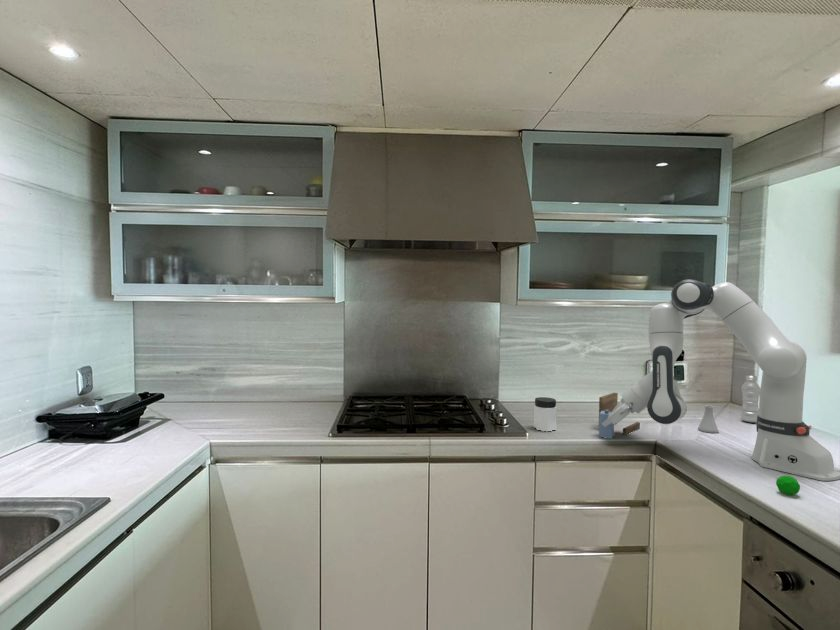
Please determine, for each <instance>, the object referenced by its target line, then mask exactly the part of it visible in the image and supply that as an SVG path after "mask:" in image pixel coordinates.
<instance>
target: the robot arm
mask: <svg viewBox="0 0 840 630" xmlns="http://www.w3.org/2000/svg"><path fill="white" fill-rule="evenodd" d="M670 296H671V299H670V300H669V301H667V302H664V303H663V302H662V303H658V304H656V305H654V306H653V307H651V309H650V312H649V317H648V343H649V350H650V354H651V362H652V370H651V371H650V372H648V373H647V374H645V375H644V376H643V377H641V378H640V379H639V381H638V382H637V383H636V384H634V385H631V386H629V388H627V389H626V390H625V391H623V392H622V393H621V398H620V400H619V402H617V405H616V406H615V408H614V409H613V410H612V412H611V413H610V414H609V416H608V418H607V419H606V420H605V421H604V422H603V423H602V425H603V426H604V427H606V426H607V425H609V424H611V423H613V424H614V426H616V425H617V424H619V422H621V421H622V420H624V418H626V417H627V416H628V415H630V413H631V414H634V413H637V414H640V413H642V412H643V411H645V409H647V413H648V415H649V417H650V418H652V420H653V421H655V422H656V423H658V424H662V425H671V424H674V423H675V422H677V421H678V420H681V419H682V418H684V417H685V415H686V413H687V408H688V407H687V404H686V402H685V400H684V398H683V397H682V394H681V391H680V389H679V384H678V379H677V378H676V377H675V376H674V369H675V368H674V367H675V364H676V361H677V359H678V358H679V357H680V356H681V354H682V352H683V347H684V327H683V326H684V325H683V323H684V319H687V318H690V317H693V316H697V315H699V314H702V312H704V311H705V310H709V311H711V312H712V313H714V314H715V315H716V316H717V317H718V318H719V319H720V320H721V321H722V323H723V324H724V325H725V326H726V327H727V328H728V330H730V332H731V333H732V334H733V335H734V336H735V337H736V338H737V339H738V341H739V342H740V343H741V344H742V346H743V347H744V349H745V350H746V351H747V352H748V355H750V357H751V358H752V360H753V361H754V362H755V363H756V364H757V366H758V367H759V368H760V370H761V371H762V374H761V382H760V395H759V401H758V407H759V415H758V416H757V422H756V424H755V427H756V440H755V443H754V448H753V450H752V453H751V456H750V458H751V459H752V460H753V461H755V462H756V463H758V465H759V466H761V467H763V468H765V469H772V470H775V471H780V472H782V473H783V472H784V473H788V474H792V475H795V476H800V477H804V478H805V477H806V478H810V479H813V480H818V481H822V482H823V481H824V482H828V481H829V482H830V481H836V480H840V468H837V467H835V463H834V459H833V455H832V452H831V451H830V450H829V449H827V448H826V447H825V446H823V445H822V444H821V443H819V442H818V441H817V440H816V439H815V438H813V437H812V436H811V435H810V430H812V427H813V426H812V425H810V424H809V425H807V424H806V423H805V422H804V421H803V414H804V413H803V412H804V411H803V410H804V409H803V408H804V396H805V395H804V394H805V383H806V382H805V381H806V375H807V374H806V372H807V360H808V359H807V353H806V351H805V349H803V347H802V346H800V345H799V344H797V343H796V342H793V341H790V340H789V339H788V338H787V336H785V335H784V333H783V332H782V331H781V330H780V328H779V327H778V326H777V325H776V324H775V322H774V321H773V320H772V319H771V317H770V316H768V314H767V313H766V312H764V310H763V309H762V308H761V307H760V306H759V305H758V304H757V303H756V302H755V301H754V300H753V299H752V298H751V297H750V296H749V295H748V294H747V293H746V292H744V291H743V290H742V289H741V288H739V287H738V286H736V285H735V284H734V283H731V282H729V281H724V282H719V283H717V284H715V285H713V286H712V285H711V284H709V283H705V282H702V281H699V280H696V279H692V278H691V279H683V280H681V281H679V282H677V283H676V284H675V285H674V286H673V288H672V290H671V293H670Z"/></svg>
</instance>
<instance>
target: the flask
mask: <svg viewBox="0 0 840 630" xmlns="http://www.w3.org/2000/svg"><path fill="white" fill-rule="evenodd" d="M714 408H715V407H714V406H713V405H707V404H706V405H704V413H703V416H702V419H701V421H700V423H699V425H698V427H697V430H698V431H701V432H703V433H711V434H718V433H719V429H718V426H717V423H716V420H715V416H714Z"/></svg>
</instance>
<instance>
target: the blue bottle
mask: <svg viewBox="0 0 840 630" xmlns="http://www.w3.org/2000/svg"><path fill="white" fill-rule="evenodd" d="M610 413H611V412H609V410H608V409H606V410H605V411H601V412H600V413H599V412H598V438H602V437H606V438H605V439H609V438H612V437H614V436H613V435H615V434H614V431H615V430H614V429H615V425H614V424H613V423H611V424H609V425H607V426H606V427H604V426H603V425H602V423H603V422H604V421H605V420H606V419H607V418H608V416H609V414H610ZM612 439H613V438H612Z"/></svg>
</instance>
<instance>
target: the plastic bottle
mask: <svg viewBox="0 0 840 630" xmlns="http://www.w3.org/2000/svg"><path fill="white" fill-rule="evenodd" d="M757 381H758V376H756V375H752V374H751V375H750V374H749V375H748V374H747V375H746V376H745V381H744V382H743V384H742V385H741V393H742V394H741V395H742V407H741V411H740V418H741V420H742V421H743V422H747V423H756V422H757V416H758V415H759V395H760V388H761V386H760V385H759V384H758V383H757Z"/></svg>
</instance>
